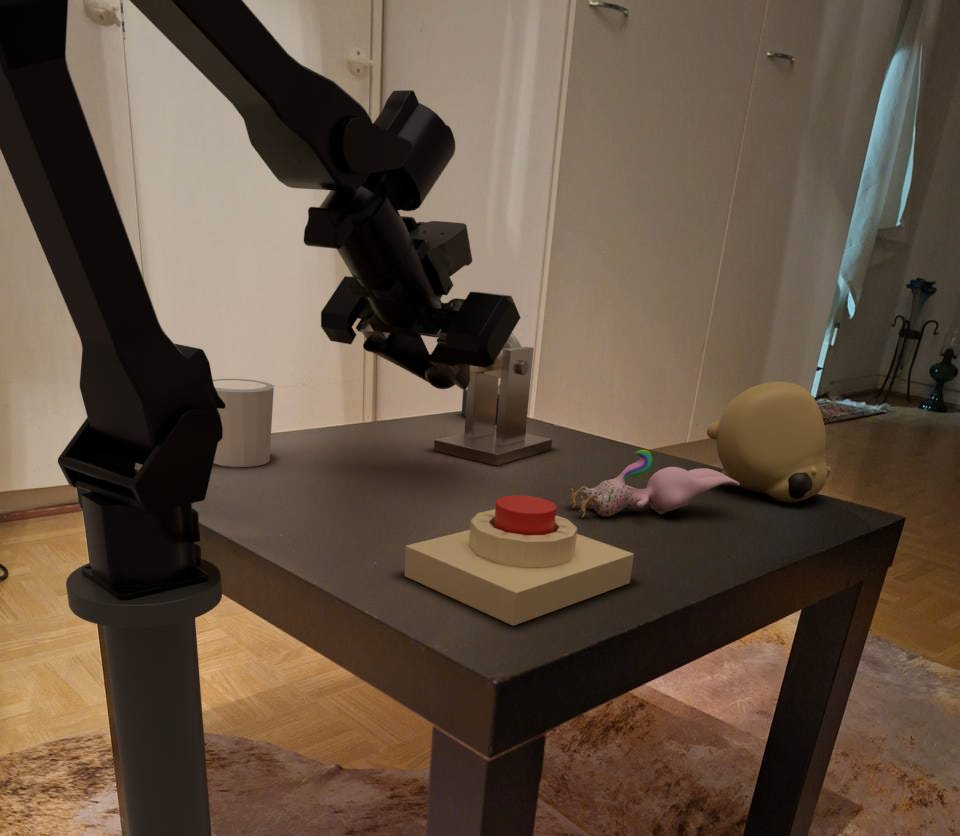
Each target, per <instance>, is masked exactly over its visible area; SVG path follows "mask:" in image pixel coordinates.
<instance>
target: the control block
mask: <svg viewBox="0 0 960 836" xmlns="http://www.w3.org/2000/svg"><path fill="white" fill-rule="evenodd" d="M494 519H495V508H494V509H490V510H485V511H481V512H478V513H476V515H474V517H472V519H470V525H469V526H470V527H469V529H468V530H464V531H460V532H456V533H451V534H448V535H447V534H446V535H443V536H439V537H435V538H432V539H428V540H422V541H419V542H415V543H411V544H407V545H405V555H404V556H405V557H404V577H405V578H408V579H410V580H412V581H415V582H417V583H419V584H421V585H423V586H425V587H426V588H430V589H432V590H434V591H436V592H438V593H440V594H443V595H445V596H446V597H449V598H451V599H453V600H455V601H458V602H460V603H462V604H464V605H466V606H469V607H471V608H473V609H475V610H476V611H479V612H482V613H484V614H486V615H488V616H490V617H492V618H495V619H497V620H499V621H501V622H503V623H506V624H508V625H510V626H512V627H514V626H517V625H519V624H522V623H526V622H528V621H531V620H533V619H536V618H539V617H541V616H544V615H547V614H550V613H553V612H555V611H558V610H560V609H563V608H566V607H569V606H572V605H574V604H578V603H579V602H583V601H585V600H588V599H590V598H593V597H596V596H599V595H601V594H604V593H607V592H609V591H612V590H615V589H618V588H621V587H624V586H626V585H629V584H630V583H631V579H632V571H633V565H634V564H633V563H634V558H635V553H634V552H631V551H628V550H624V549H623V548H622V549H621V548H619V547H617V546H613V545H611V544H608V543H604V542H603V541H599V540H596V539H593V538H591V537H587V536H585V535H582V534H579V533H578V527H577V526H576V525H575V524H574V523H573V522H571V521H570V520H569V519H567V518H565V517H562V516H559V515H556V517H555V526H554V532H553V533H550V534H546V535H521V534H514V533H507V532H504V531H501V530H499V529H496V528H494Z"/></svg>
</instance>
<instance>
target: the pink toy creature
mask: <svg viewBox="0 0 960 836" xmlns="http://www.w3.org/2000/svg"><path fill="white" fill-rule="evenodd" d="M634 454H636V455H637V456H638V457H639V459H637V461H635V462H633V463H631V464H629V465H627V466H626V467H625V468H624V469H623V470H622V472H620V473H619V475H618V476H616V477H615V478H612V479H611V478H610V479H606V480H603V481H601V482H600V483H599V484H598V485H596V486H594V487H592V488H591V487H587V486H585V485H582V486H581V487H579V488H578V490H576V491H574V489H573V488H571V487H570V489H571V491H572V492H571V494H570V502H569V504H570V505H572V507H571V509H574V508H575V507H576V504H577V502H576V499H577V498H578V495H580V494H583V495H584V496H580V498H581V501H580V510H579V512H582V513H583V514H582V516H581V518H582V519H583V518H584V517H585V515H586V508H587V506H588V507H589V508H590V509H592V510H594V511H595V512H596V514H597V515H598V516H601V517H604V518H608V517H613V515H615V514H617V513H619V512H621V511H622V510H623V509H629V510H632V509H636V508H643V507H644V506H646V505H647V504H648V502H649V507H650V509H652V510H654V511H655V512H656V513H658V514H659V515H663V514H665V513H668V512H671V511H675V510H677V509H679V508H683V507H686V506H687V505H689V503H690V502H691V501H692V500H693V499H694V497H695V496H697V495H699V494H702V493H704V492H707V491H709V490H712V489H713V488H716V487H718V486H721V485H723V484H725V483H727V484H731V485H732V486H737V487H740V486H739V485H740V483H739V482H737V481H735V480H733V479H731V478H729V477H728V476H726V475H724V474H722V472H720V471H718V470H715V469H711V468H707V467H705V468H703V467H702V468H700V467H699V468H693V469H689V470H686V469H684V468H682V467H679V466H668V467H664V468H661V469H659V470H657V471H656V472H654V473H653V474H652V476H650V478H649V480H648V482H647V484H646V487H645V488H636V487H633V486H630V485H627V484H626V480H627V479H628V478H632V477H640V476H644V475H645V474H647V473H648V472H649V471H650V470H651V469H652V465H653V460H654V459H653V455H652V454H651V452H650V450H647V449H639V450H637V451H635V452H634ZM584 497H585V499H584Z"/></svg>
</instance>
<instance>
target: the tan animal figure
mask: <svg viewBox="0 0 960 836" xmlns="http://www.w3.org/2000/svg"><path fill="white" fill-rule="evenodd" d="M706 435H707V436H708V438H709V439H712V440H715V442H716V451H717V455H718V458H719V461H720V463H721V466H722V471H721V473H722V474H724V475H726V476H728V477H729V478H731V479H733V480H735V481H737V482H739V483H740V485H739V486H738V487H741V488H742V489H745V490H747V491H750V492H754V493H763V494H765V495H767V496H769V497H770V498H772V499H774V500H777V501H779V502H783V503H788V504H789V503H790V504H792V503H799V502H802V501H805V500H808V499H809V498H812V497H814V496H815V495H817V494H819V493H820V492H821V491H822V490H823V489H824V487H825V485H826V483H827V481H828V480H827V479H828V478H829V475H830V473H831V472H832V468H831V467H830V466H829V465H828V463H827V462H826V453H825V452H826V445H827V444H826V443H827V438H826V437H827V434H826V428H825V422H824V418H823V414H822V412H821V408H820V406H819V404H818V402H817V401H816V399H815V397H814V396H813V395H812V394H811V392H810V391H808V390H807V389H806V388H805V387H803V386H802V385H799V384H797V383H793V382H789V381H771V382H763V383H760V384H757V385H754V386H752V387H750V388H747V389H745V390H744V391H742V392H740V393H739V394H737V395H736V397H734V398H733V399H732V400H731V401H730V402H729V403H728V404H727V406H726V407H725V408H724V410H723V412H722V413H721V416H720V418H719V419H717V420H716V421H714V422H712V423H710V424H709V426H708V427H707V429H706ZM722 485H723V486H725V487H726V486H727V487H728V486H731V485H732V484H727V483H725V484H722Z"/></svg>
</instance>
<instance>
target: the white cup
mask: <svg viewBox="0 0 960 836" xmlns="http://www.w3.org/2000/svg"><path fill="white" fill-rule="evenodd" d="M213 383H214V387H215V389H216V391H217V393H218V395H219V397H220V398H221V399H222V401H223V402H224V403H225V405H226V406H225V408H224V409H220V408H218V411H219V413H220V416H221V421H222V427H223V437H222V439H221V441H219V442H218V445H217V449H216V453H215V458H214V462H213V465H218V466H221V467H222V466H223V467H229V468H230V467H231V468H250V467H258V466H263V465H266V464H268V463H269V462H270V458H271V444H272V443H271V442H272V441H271V440H272V427H273V426H272V424H273V423H272V422H273V406H274V393H275V392H274V391H275V385H273V384H272V383H269V382H266V381H260V380H253V379H245V378H217V379H213Z"/></svg>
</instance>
